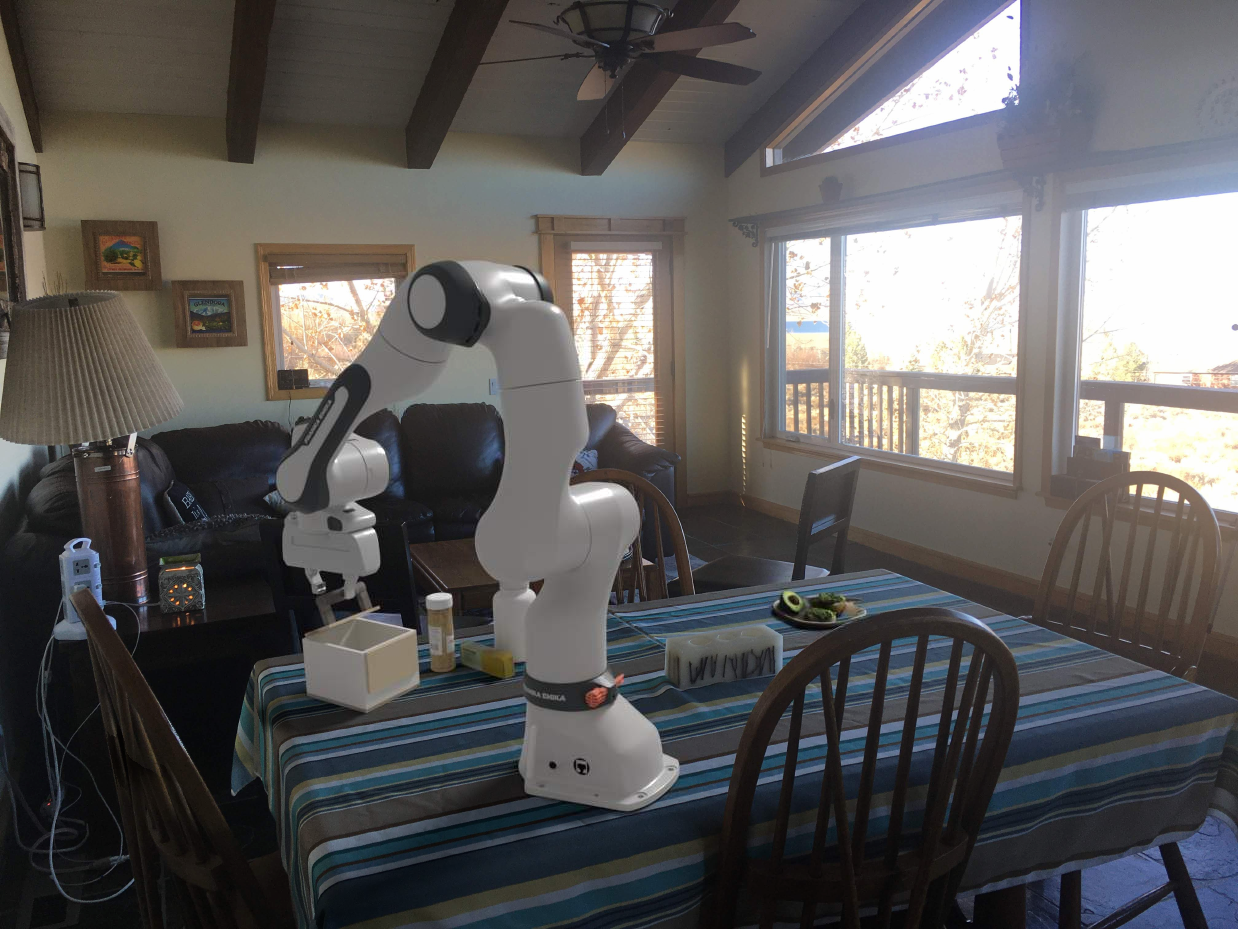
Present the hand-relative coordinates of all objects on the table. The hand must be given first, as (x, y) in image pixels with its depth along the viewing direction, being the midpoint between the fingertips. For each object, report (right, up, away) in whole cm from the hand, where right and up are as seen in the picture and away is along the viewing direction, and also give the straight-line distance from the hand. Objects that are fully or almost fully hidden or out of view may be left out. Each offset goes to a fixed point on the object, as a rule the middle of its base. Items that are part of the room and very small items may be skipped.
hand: (333, 595), depth 156 cm
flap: (+2, -4, 0) cm, 5 cm away
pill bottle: (+29, -13, +14) cm, 35 cm away
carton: (+5, -16, 0) cm, 17 cm away
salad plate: (+88, -9, +32) cm, 94 cm away
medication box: (+25, -15, +8) cm, 30 cm away
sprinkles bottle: (+17, -14, +9) cm, 24 cm away
